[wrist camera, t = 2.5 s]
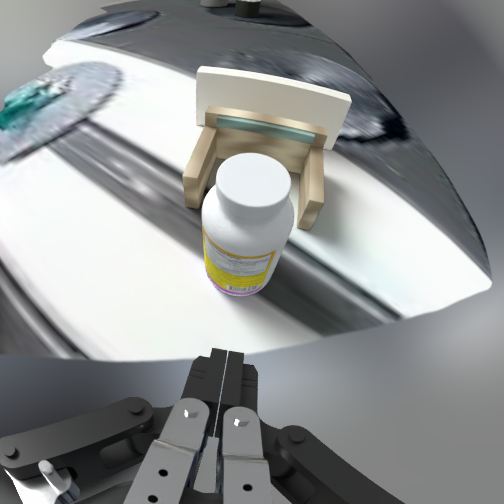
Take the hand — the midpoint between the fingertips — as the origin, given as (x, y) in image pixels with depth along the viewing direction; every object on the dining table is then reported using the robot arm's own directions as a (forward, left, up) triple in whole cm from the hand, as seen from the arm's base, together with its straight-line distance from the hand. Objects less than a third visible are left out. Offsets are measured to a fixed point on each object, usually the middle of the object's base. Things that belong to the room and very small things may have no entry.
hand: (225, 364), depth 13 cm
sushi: (-15, +107, -12) cm, 109 cm away
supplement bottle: (0, +11, -12) cm, 16 cm away
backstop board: (0, +33, -12) cm, 35 cm away
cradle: (0, +22, -12) cm, 25 cm away
